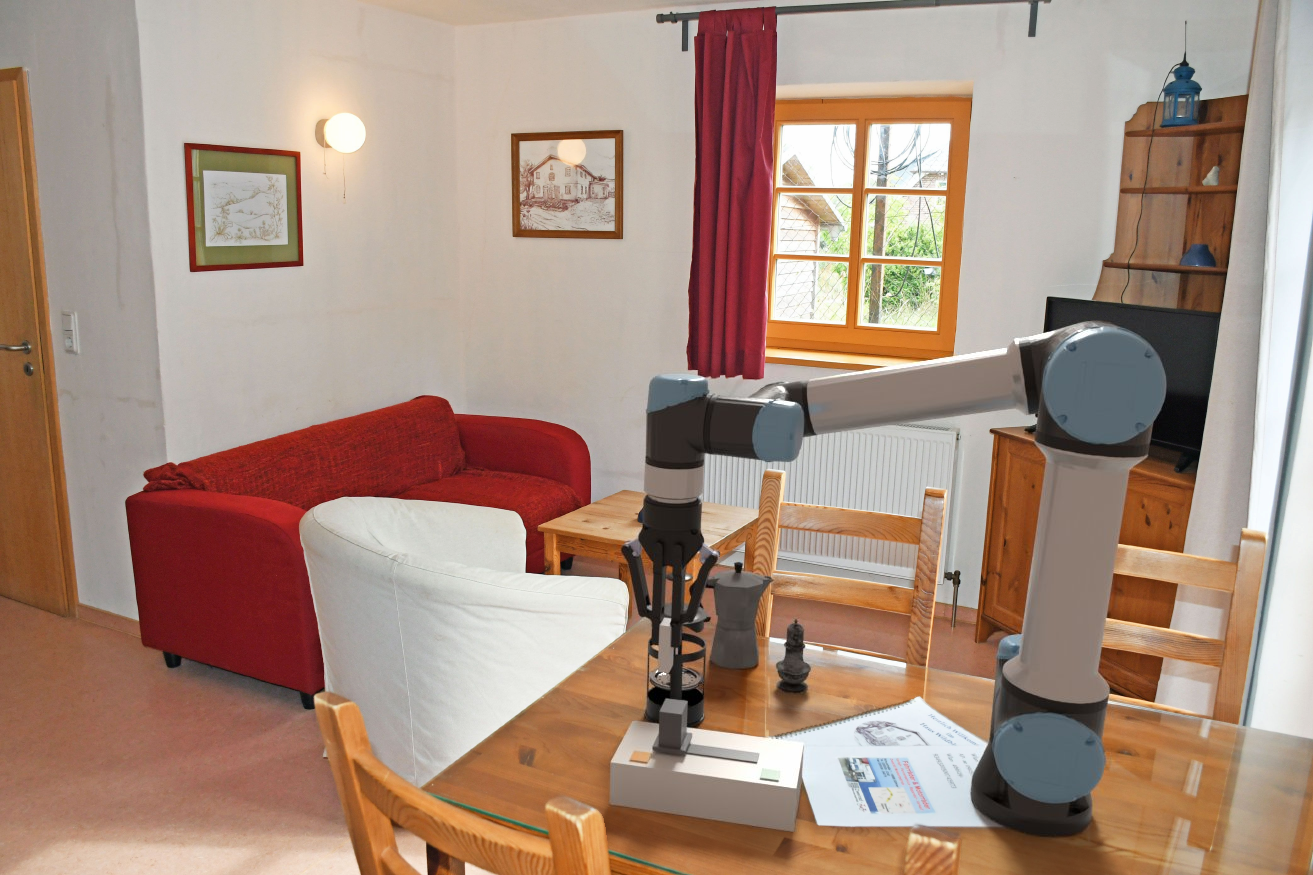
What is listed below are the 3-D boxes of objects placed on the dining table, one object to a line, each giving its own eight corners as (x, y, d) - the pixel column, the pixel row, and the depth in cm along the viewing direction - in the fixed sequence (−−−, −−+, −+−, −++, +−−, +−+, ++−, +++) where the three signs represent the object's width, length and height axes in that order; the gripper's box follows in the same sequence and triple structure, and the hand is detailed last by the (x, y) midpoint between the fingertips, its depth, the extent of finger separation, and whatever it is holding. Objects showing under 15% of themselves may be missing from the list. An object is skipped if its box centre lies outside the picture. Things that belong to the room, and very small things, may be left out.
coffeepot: (760, 646, 184) (764, 552, 180) (778, 666, 175) (784, 568, 171) (679, 652, 180) (682, 556, 176) (694, 674, 171) (698, 573, 168)
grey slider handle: (692, 736, 136) (693, 699, 135) (685, 754, 131) (686, 716, 130) (660, 732, 137) (661, 696, 135) (652, 750, 132) (653, 712, 131)
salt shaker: (771, 691, 165) (775, 622, 163) (778, 676, 171) (781, 610, 168) (807, 696, 164) (811, 627, 161) (812, 681, 169) (816, 614, 167)
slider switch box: (801, 782, 137) (804, 741, 136) (793, 831, 126) (796, 786, 124) (632, 759, 142) (632, 718, 141) (609, 804, 131) (610, 760, 129)
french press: (705, 732, 151) (711, 587, 146) (643, 730, 151) (647, 585, 146) (703, 697, 162) (708, 562, 158) (645, 695, 162) (649, 560, 158)
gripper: (728, 493, 130) (718, 663, 134) (630, 484, 132) (624, 651, 137) (718, 507, 122) (709, 686, 127) (616, 497, 125) (610, 673, 130)
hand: (665, 668), depth 132 cm, fingers closed
